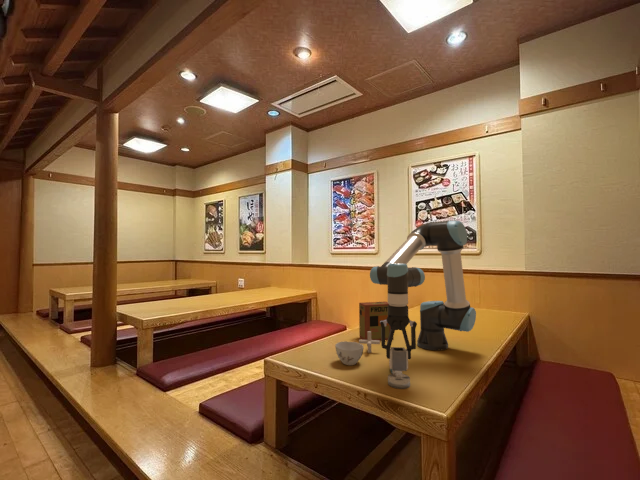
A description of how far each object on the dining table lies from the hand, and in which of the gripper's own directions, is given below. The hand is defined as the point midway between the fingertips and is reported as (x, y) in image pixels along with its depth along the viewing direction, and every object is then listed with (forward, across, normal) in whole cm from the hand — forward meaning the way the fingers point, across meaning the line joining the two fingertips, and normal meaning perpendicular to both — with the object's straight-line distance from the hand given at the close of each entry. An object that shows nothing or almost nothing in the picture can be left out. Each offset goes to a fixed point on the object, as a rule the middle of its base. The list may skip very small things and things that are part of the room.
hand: (398, 367), depth 119 cm
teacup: (+6, +18, -22) cm, 29 cm away
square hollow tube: (0, 0, 0) cm, 0 cm away
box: (+6, +4, -62) cm, 62 cm away
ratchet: (+6, 0, -6) cm, 8 cm away
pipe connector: (+6, +9, -37) cm, 39 cm away
